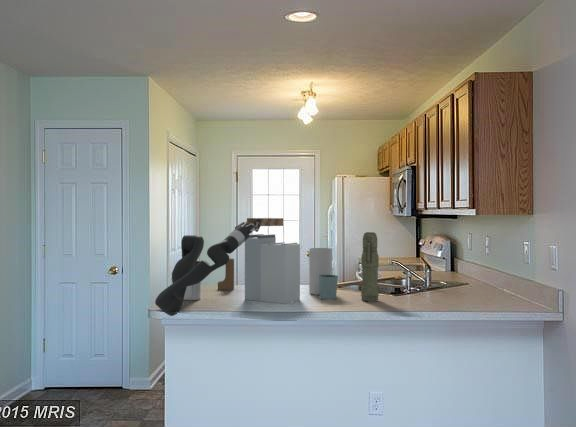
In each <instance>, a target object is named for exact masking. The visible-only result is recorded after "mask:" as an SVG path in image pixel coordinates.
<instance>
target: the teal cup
mask: <svg viewBox="0 0 576 427" xmlns="http://www.w3.org/2000/svg"><path fill="white" fill-rule="evenodd" d="M338 279H339V275H335V274H332V275H319V290H320V295H319V299H320V300H325V299H332V300H336V299H337V293H338V292H337V291H338V281H339V280H338Z"/></svg>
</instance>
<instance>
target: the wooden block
mask: <svg viewBox="0 0 576 427" xmlns="http://www.w3.org/2000/svg"><path fill="white" fill-rule="evenodd" d="M234 289H235V258H229V261H228V263H227V264H225V277H224V279H223V280H219V281H218V282H217V291H233V290H234Z"/></svg>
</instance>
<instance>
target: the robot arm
mask: <svg viewBox="0 0 576 427" xmlns="http://www.w3.org/2000/svg"><path fill="white" fill-rule="evenodd" d="M257 218H258V219H257V220H256V221H255V222H254V223H251V224H249V225H247V221H243V222H241V223H240V224H237V225H236V226H234V230H232V231H231V232H230V233H229V234H228V235H227V236H226V237H225V238H224V239H223V240H221V241H219V242H218V243H215V244H213V245H211V246H210V247H208V248H207V252H206V255H207V257H208V258H209V259H210V260H211V262H213V263H212V264H211V263H210V262H208V261H206V260H205V259H203V260H199V258H200V256H201V254H202V251H203V249H204V246H205V245H204V244H205V240H204V237H203V236H201V235H199V234H198V235H197V234H196V235H195V234H194V235H192V234H190V235H189V234H187V235H183V236H182V238H181V244H180V245H181V258H180V259H179V260H178V261H176V263H175V265H174V267H173V270H172V272H171V281H172V282H171V283H172V284H170V285H169V286H167V287H166V288H165V289H163V290H162V291H161V292H160V293H159V294H158V295H157V297H156V298H155V301H154V303H155V306H156V307H158V308H159V309H160V310H161V311H163V312H164V313H165V314H167V316H169V317H170V316H171V317H172V316H176V315H177V313H178V312H179V311H180V310H181V309H182V305H183V302H184V301H198V300H201V282H202V281H204V280H205V279H206V278H207V277H208V276H209V275H210V274H211V273H212V272H214V271H216V270H218V269H220V268H221V267H223V266H226V264H227V263H228V261H229V259H230V256H229V255H230V254H232V253H233V252H234V251H235V250H236V249H237V248H239V247H240V246H242V245H243V243H245V241H246V240H247V239H248V237H249V235H251V234H252V233H253V232H256V233H257V232H259V230H260V228H261V226H260V224H259V223H260V222H261V219H260V218H261V217H257ZM254 224H255V226H254ZM251 225H252V226H251Z"/></svg>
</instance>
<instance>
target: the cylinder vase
mask: <svg viewBox="0 0 576 427" xmlns="http://www.w3.org/2000/svg"><path fill="white" fill-rule="evenodd" d="M308 258H309V260H308V261H309V262H308V265H309V267H308V270H309V274H308V276H309V278H308V279H309V282H308V283H309V284H308V285H309V286H308V287H309V294H310V295H314V296H320V290H319V275H333V249H332V248H331V247H311V248H309V257H308Z"/></svg>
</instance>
